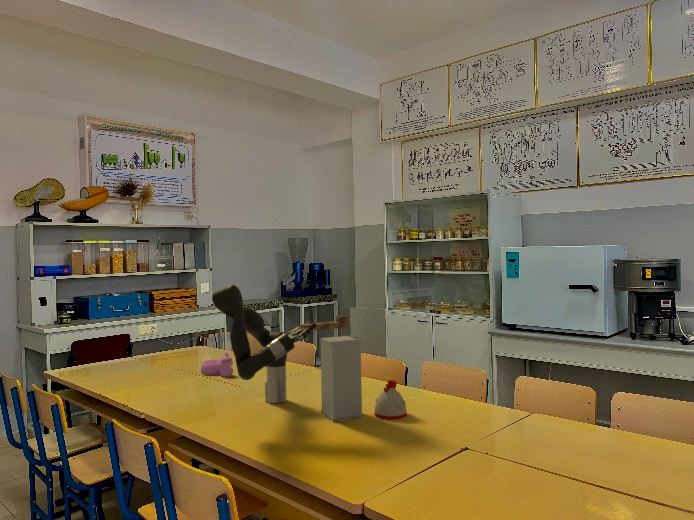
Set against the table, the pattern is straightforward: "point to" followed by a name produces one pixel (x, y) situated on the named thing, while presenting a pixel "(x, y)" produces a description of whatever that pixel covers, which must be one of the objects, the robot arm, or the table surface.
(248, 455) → the table surface
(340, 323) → the brown wooden bar
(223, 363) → the pink rounded piece
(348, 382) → the pedestal
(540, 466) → the table surface
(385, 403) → the white chicken figure
